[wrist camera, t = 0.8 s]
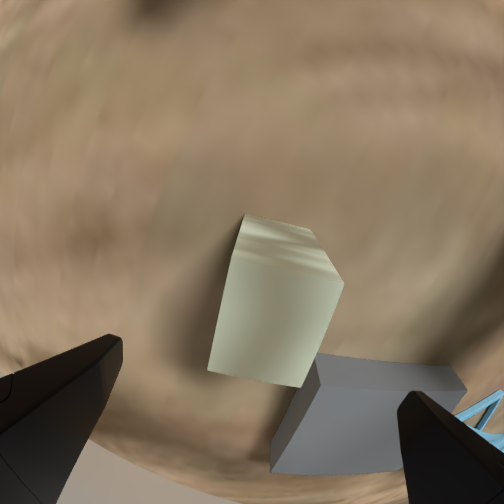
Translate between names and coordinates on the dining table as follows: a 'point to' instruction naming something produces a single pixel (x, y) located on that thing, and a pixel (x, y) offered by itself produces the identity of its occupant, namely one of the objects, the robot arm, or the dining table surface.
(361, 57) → the dining table surface
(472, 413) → the light blue lattice frame
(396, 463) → the grey block
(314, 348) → the sage block
